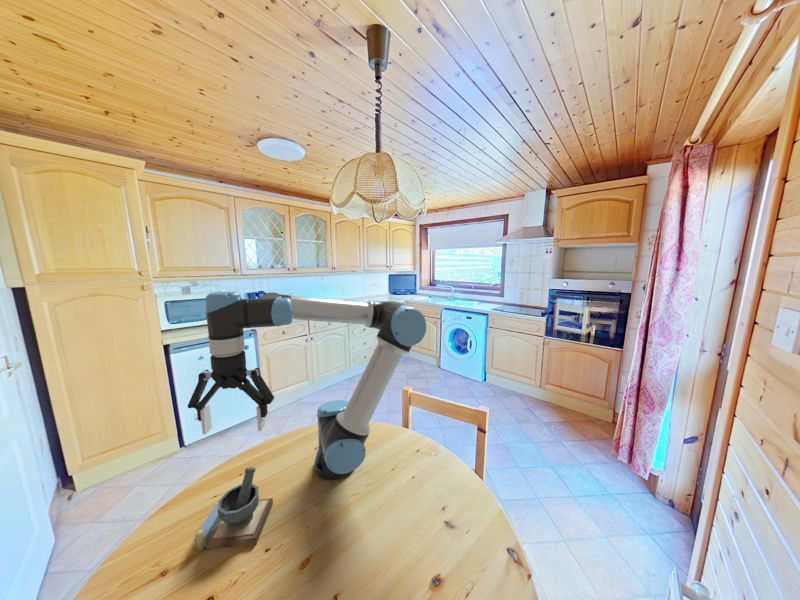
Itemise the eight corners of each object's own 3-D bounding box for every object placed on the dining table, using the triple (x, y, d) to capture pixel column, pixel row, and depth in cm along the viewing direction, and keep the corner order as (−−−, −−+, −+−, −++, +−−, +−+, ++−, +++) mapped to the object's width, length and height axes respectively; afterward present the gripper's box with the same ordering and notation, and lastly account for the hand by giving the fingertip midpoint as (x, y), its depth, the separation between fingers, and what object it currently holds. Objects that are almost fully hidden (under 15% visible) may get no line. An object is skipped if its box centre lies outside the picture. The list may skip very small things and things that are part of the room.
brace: (204, 550, 68) (203, 534, 68) (193, 551, 68) (192, 536, 67) (225, 511, 79) (223, 498, 78) (215, 513, 79) (214, 499, 78)
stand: (273, 504, 82) (272, 497, 81) (256, 544, 70) (255, 536, 70) (231, 507, 81) (230, 500, 80) (207, 549, 69) (206, 541, 68)
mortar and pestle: (243, 540, 69) (240, 498, 67) (210, 535, 70) (206, 493, 68) (270, 502, 80) (267, 465, 78) (241, 498, 81) (238, 462, 80)
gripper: (283, 346, 74) (287, 418, 76) (185, 349, 71) (193, 424, 74) (273, 355, 66) (278, 435, 69) (163, 359, 64) (173, 441, 66)
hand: (234, 429), depth 71 cm, fingers open, 13 cm apart
